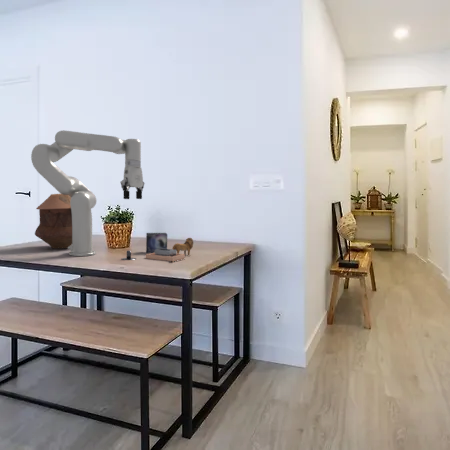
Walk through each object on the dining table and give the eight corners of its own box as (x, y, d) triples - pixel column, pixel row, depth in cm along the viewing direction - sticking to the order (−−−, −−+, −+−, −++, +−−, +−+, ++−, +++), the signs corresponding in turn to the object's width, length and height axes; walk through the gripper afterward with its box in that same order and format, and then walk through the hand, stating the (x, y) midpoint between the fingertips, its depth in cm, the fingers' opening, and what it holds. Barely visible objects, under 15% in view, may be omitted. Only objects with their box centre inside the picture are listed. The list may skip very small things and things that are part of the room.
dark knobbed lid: (117, 260, 188) (117, 251, 188) (127, 258, 195) (127, 249, 194) (129, 261, 185) (129, 252, 185) (139, 259, 192) (139, 250, 191)
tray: (145, 259, 193) (145, 254, 193) (158, 256, 202) (158, 251, 202) (172, 262, 186) (173, 257, 186) (184, 259, 196) (184, 254, 195)
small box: (146, 254, 209) (146, 234, 208) (145, 252, 215) (145, 232, 214) (167, 253, 212) (167, 233, 211) (165, 251, 218) (166, 232, 217)
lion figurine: (188, 254, 212) (188, 236, 211) (195, 255, 208) (196, 237, 208) (167, 257, 201) (167, 239, 200) (175, 258, 197) (175, 240, 196)
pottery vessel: (93, 245, 237) (92, 193, 234) (72, 251, 212) (71, 194, 209) (50, 244, 239) (50, 193, 237) (25, 250, 214) (24, 193, 212)
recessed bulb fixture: (169, 259, 190) (169, 251, 190) (154, 258, 194) (154, 249, 193) (176, 258, 195) (176, 249, 195) (161, 256, 199) (161, 248, 198)
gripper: (127, 163, 192) (127, 199, 193) (149, 165, 207) (149, 199, 209) (115, 163, 195) (115, 198, 197) (137, 165, 211) (137, 198, 212)
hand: (132, 198), depth 203 cm, fingers open, 9 cm apart
